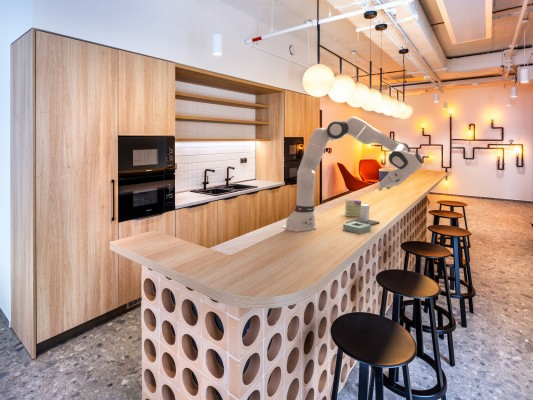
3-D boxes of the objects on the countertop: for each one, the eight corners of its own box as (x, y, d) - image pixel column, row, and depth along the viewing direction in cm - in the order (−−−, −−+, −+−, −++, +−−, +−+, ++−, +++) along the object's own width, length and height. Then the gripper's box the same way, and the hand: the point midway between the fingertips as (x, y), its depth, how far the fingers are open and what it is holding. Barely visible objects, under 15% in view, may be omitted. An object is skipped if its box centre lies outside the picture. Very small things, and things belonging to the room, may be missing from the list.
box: (359, 215, 248) (359, 199, 245) (360, 216, 242) (361, 200, 240) (345, 214, 249) (345, 199, 246) (346, 216, 243) (346, 200, 241)
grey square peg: (365, 223, 219) (366, 205, 217) (359, 222, 222) (360, 204, 220) (368, 222, 222) (369, 204, 219) (363, 221, 225) (364, 204, 222)
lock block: (359, 233, 198) (359, 228, 198) (343, 229, 207) (343, 224, 207) (370, 230, 206) (371, 224, 206) (354, 226, 215) (354, 221, 214)
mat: (364, 227, 212) (364, 226, 212) (346, 223, 222) (346, 222, 222) (379, 223, 223) (379, 221, 223) (361, 219, 234) (361, 218, 234)
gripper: (404, 170, 207) (389, 184, 216) (387, 172, 194) (371, 186, 203) (410, 178, 205) (394, 191, 214) (394, 180, 192) (377, 194, 201)
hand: (383, 189), depth 208 cm, fingers open, 8 cm apart
